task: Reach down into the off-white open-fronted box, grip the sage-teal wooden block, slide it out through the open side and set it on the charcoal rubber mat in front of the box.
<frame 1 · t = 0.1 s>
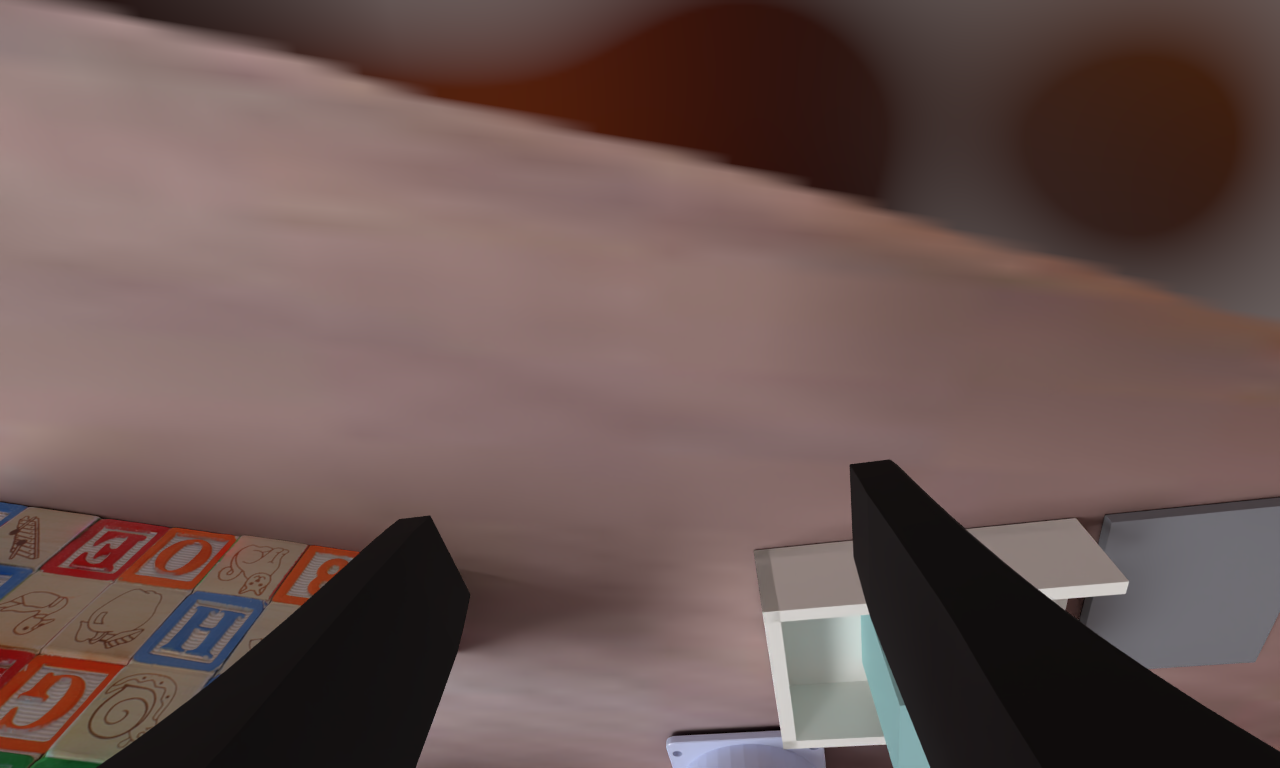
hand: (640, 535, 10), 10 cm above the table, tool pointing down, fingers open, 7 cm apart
teal block: (922, 620, 24), resting on open box
charcoal mat: (1181, 589, 23), on the table
open box: (906, 611, 25), on the table
stack of blocks: (227, 573, 27), on the table
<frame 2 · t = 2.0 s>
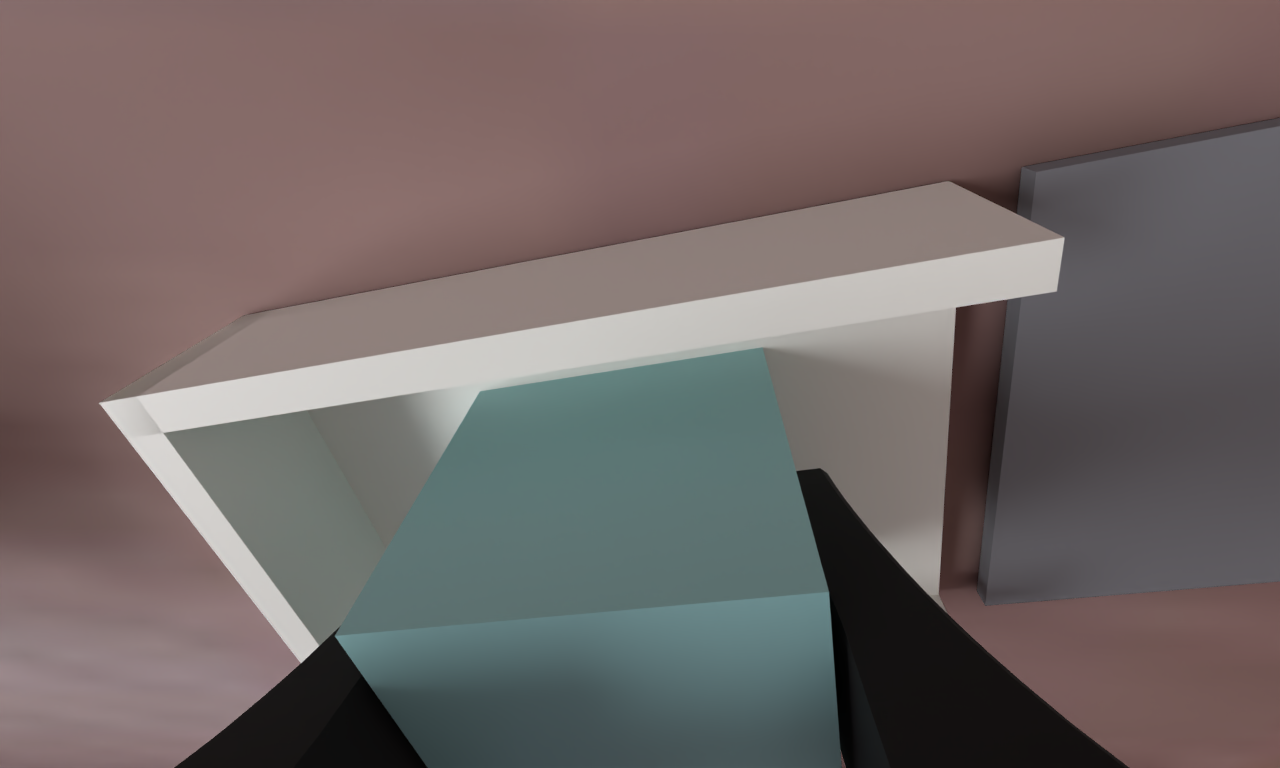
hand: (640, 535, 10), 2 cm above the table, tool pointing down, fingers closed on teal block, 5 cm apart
teal block: (644, 482, 11), resting on open box, touching gripper
charcoal mat: (1211, 394, 10), on the table
open box: (622, 469, 12), on the table
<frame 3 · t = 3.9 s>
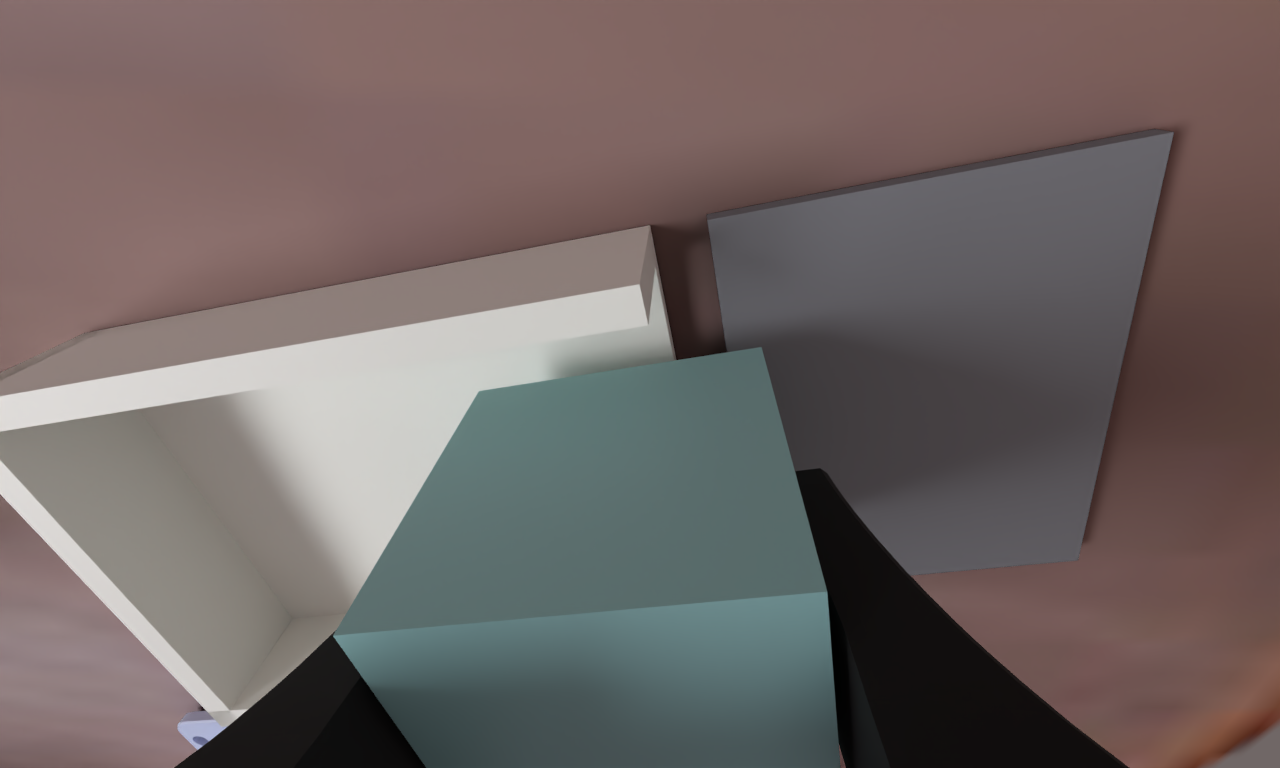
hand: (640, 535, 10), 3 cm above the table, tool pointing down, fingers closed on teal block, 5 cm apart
teal block: (644, 482, 11), point 2 cm above the table, touching gripper
charcoal mat: (911, 403, 12), on the table
open box: (431, 467, 13), on the table
when the fingers open (3 cm above the table, at t = 6.1 s): teal block stays where it is, resting on charcoal mat.
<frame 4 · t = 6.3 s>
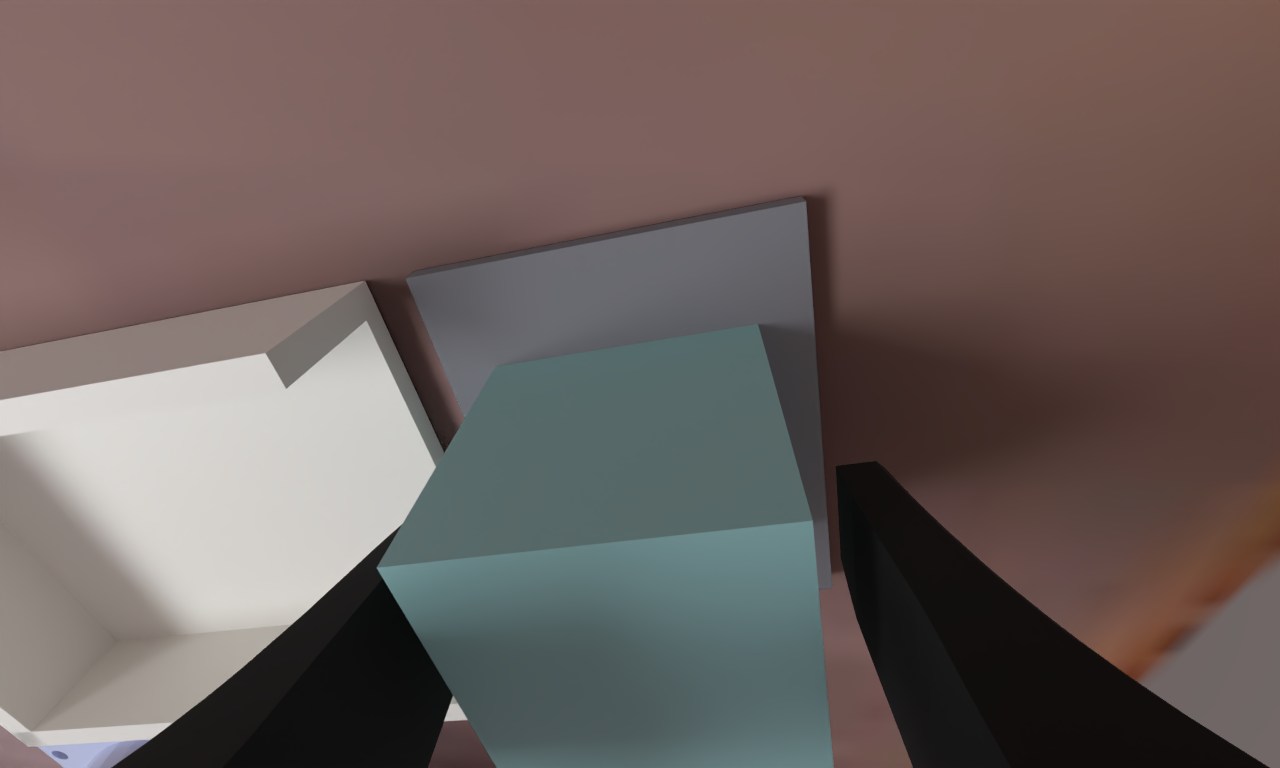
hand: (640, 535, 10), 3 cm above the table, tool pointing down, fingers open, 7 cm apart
teal block: (648, 453, 12), resting on charcoal mat
charcoal mat: (648, 442, 12), on the table
open box: (220, 500, 14), on the table
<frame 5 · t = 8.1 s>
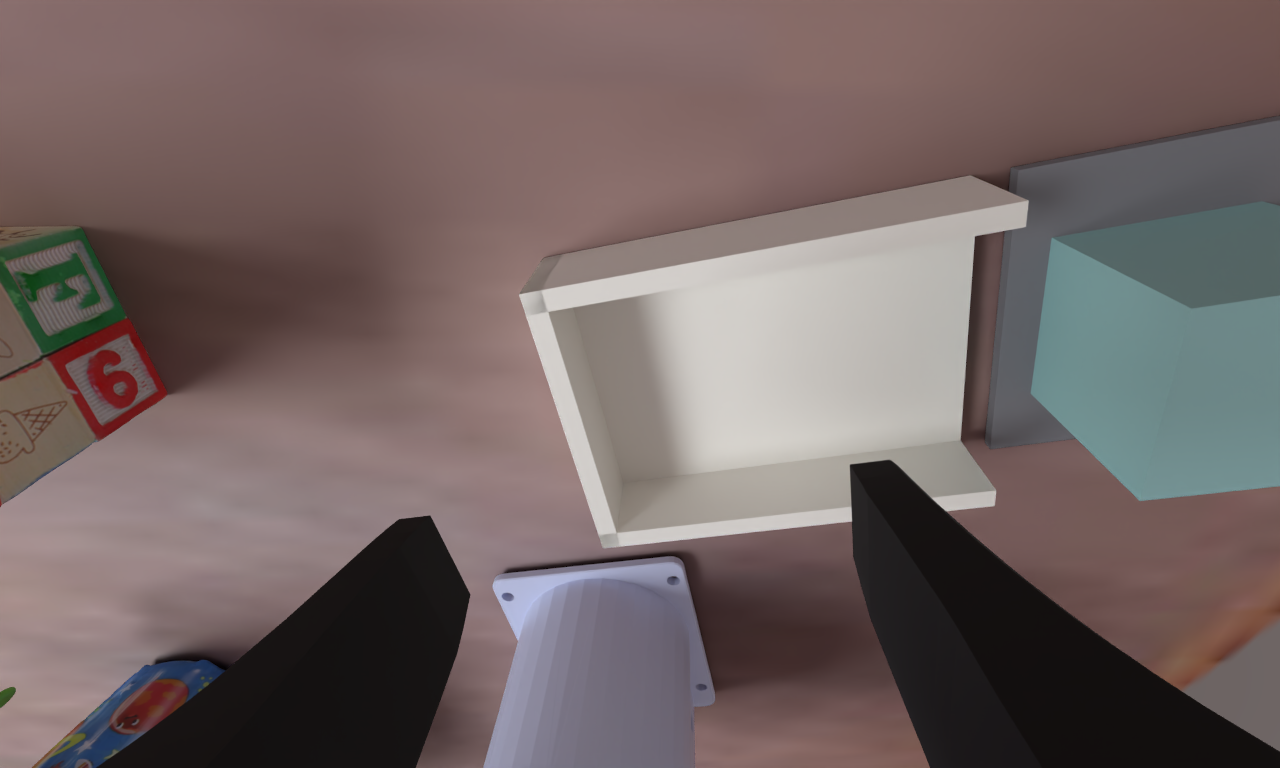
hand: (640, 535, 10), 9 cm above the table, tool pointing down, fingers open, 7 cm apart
teal block: (1135, 306, 17), resting on charcoal mat
charcoal mat: (1124, 301, 17), on the table
open box: (761, 358, 19), on the table
snack cup: (218, 693, 31), on the table
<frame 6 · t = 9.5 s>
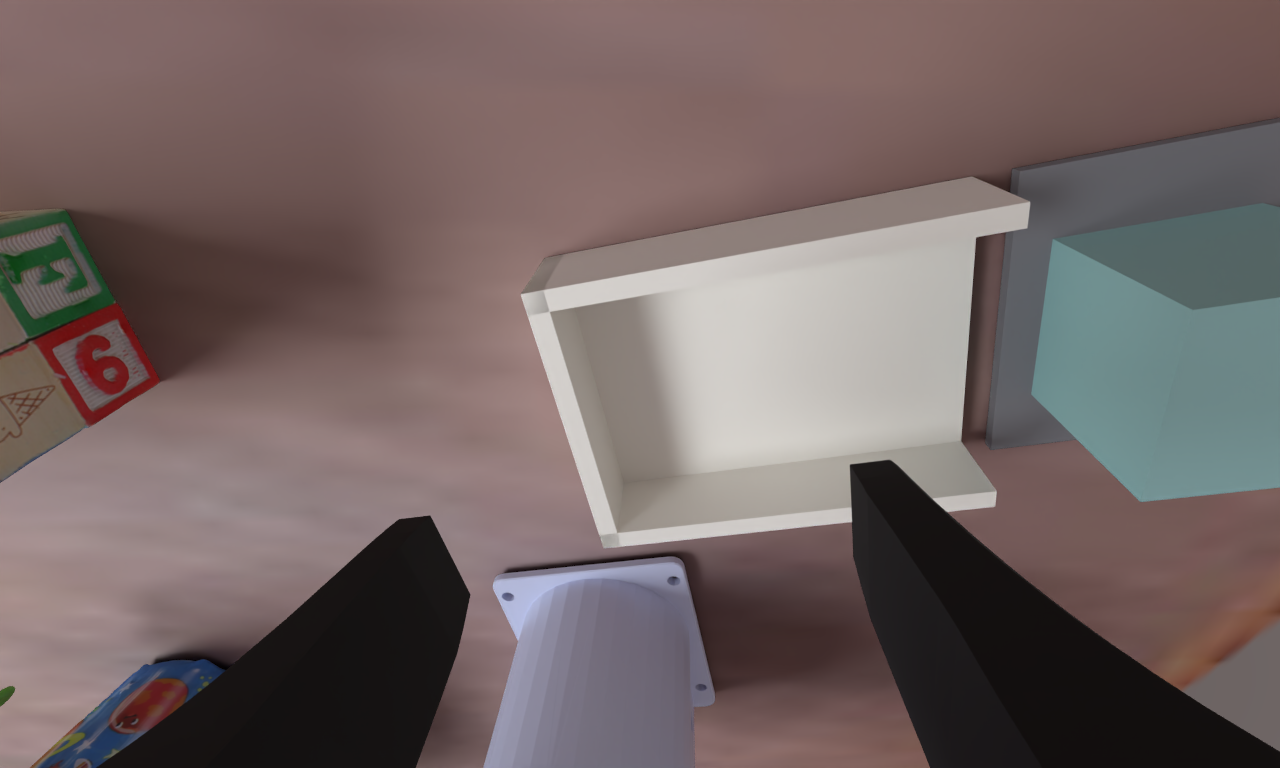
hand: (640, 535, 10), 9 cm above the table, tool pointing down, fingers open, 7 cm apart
teal block: (1135, 307, 17), resting on charcoal mat
charcoal mat: (1125, 303, 17), on the table
open box: (762, 358, 19), on the table
snack cup: (218, 692, 31), on the table
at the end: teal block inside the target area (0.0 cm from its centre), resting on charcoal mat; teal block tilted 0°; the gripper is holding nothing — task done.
